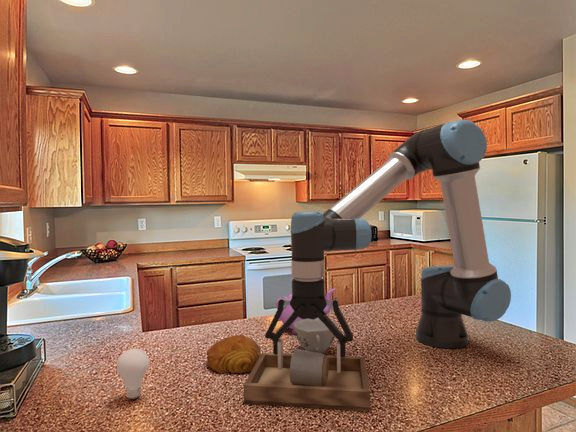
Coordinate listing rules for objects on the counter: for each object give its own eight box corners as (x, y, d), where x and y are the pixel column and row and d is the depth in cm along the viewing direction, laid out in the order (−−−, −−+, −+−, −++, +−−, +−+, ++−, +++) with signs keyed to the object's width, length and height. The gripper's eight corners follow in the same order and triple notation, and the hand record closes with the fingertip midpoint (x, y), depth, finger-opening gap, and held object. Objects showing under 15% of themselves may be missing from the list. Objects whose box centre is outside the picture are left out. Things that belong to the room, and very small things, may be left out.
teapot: (330, 320, 142) (329, 283, 142) (343, 333, 127) (343, 292, 127) (271, 324, 138) (270, 286, 138) (277, 338, 123) (277, 295, 123)
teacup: (293, 343, 119) (293, 317, 118) (334, 342, 119) (333, 316, 119) (295, 362, 104) (294, 333, 103) (341, 362, 104) (341, 332, 104)
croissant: (257, 359, 112) (256, 330, 113) (264, 373, 97) (263, 341, 98) (206, 362, 110) (206, 333, 111) (205, 377, 94) (206, 344, 95)
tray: (364, 372, 97) (364, 357, 96) (369, 411, 78) (369, 392, 78) (262, 368, 100) (261, 352, 100) (243, 403, 82) (243, 385, 82)
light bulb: (123, 392, 88) (122, 344, 88) (153, 390, 89) (152, 343, 88) (112, 407, 81) (111, 355, 81) (144, 405, 82) (143, 354, 82)
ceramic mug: (325, 393, 84) (325, 358, 84) (289, 389, 86) (288, 355, 86) (331, 373, 95) (331, 342, 95) (298, 371, 97) (298, 340, 97)
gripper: (362, 275, 91) (363, 364, 91) (258, 274, 94) (260, 360, 95) (363, 281, 83) (364, 378, 84) (251, 280, 87) (253, 373, 87)
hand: (309, 369), depth 89 cm, fingers open, 13 cm apart
